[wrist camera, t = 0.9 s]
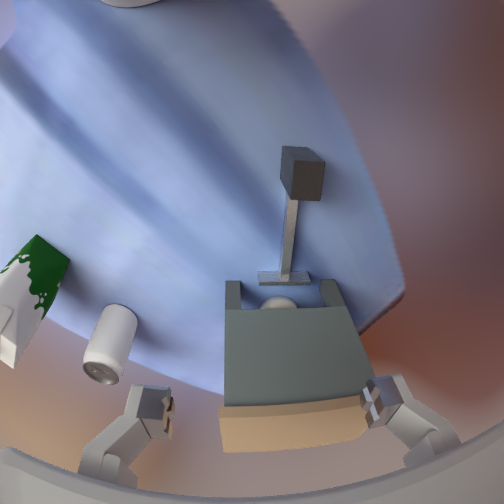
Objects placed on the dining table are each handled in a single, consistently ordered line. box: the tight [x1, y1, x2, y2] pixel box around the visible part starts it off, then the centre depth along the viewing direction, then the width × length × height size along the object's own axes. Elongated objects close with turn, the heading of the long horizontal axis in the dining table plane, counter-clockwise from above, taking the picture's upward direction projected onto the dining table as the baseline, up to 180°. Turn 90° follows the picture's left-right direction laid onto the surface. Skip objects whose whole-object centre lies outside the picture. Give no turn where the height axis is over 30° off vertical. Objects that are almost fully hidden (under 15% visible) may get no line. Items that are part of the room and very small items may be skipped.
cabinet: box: [219, 279, 376, 452], centre depth 35 cm, size 11×17×21 cm, turn 88°
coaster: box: [259, 296, 297, 309], centre depth 44 cm, size 6×6×2 cm
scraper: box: [258, 146, 325, 286], centre depth 33 cm, size 18×7×7 cm, turn 178°
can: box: [83, 304, 138, 385], centre depth 39 cm, size 6×6×12 cm
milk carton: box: [0, 234, 70, 369], centre depth 29 cm, size 9×9×20 cm
